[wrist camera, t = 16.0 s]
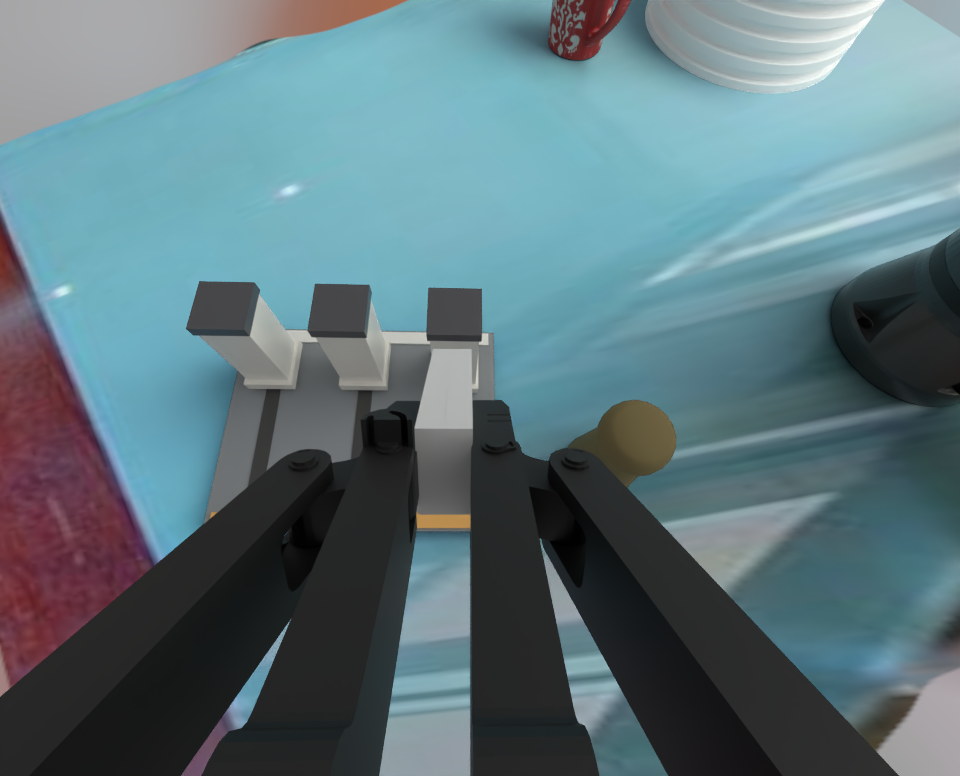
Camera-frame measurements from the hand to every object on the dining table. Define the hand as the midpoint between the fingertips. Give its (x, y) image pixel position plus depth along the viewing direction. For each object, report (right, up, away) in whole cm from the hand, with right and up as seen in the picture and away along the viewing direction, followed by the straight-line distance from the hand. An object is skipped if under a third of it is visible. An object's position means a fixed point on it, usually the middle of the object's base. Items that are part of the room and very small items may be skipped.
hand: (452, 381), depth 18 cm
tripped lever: (-1, +1, +23) cm, 23 cm away
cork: (+11, -7, +21) cm, 25 cm away
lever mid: (-9, +2, +22) cm, 24 cm away
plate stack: (+39, +52, +47) cm, 80 cm away
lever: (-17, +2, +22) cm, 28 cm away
